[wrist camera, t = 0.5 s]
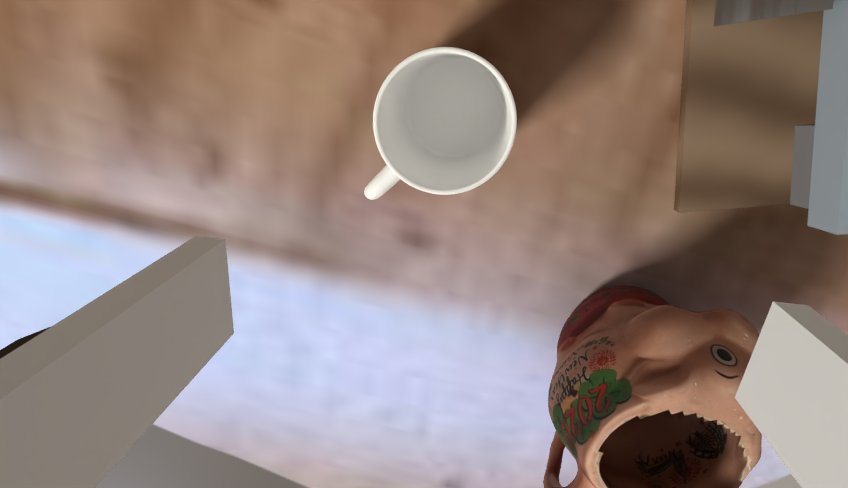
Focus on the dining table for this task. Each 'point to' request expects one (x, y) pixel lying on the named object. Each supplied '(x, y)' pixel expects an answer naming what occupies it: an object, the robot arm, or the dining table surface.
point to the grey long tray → (826, 134)
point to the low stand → (745, 99)
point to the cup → (442, 123)
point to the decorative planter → (651, 395)
